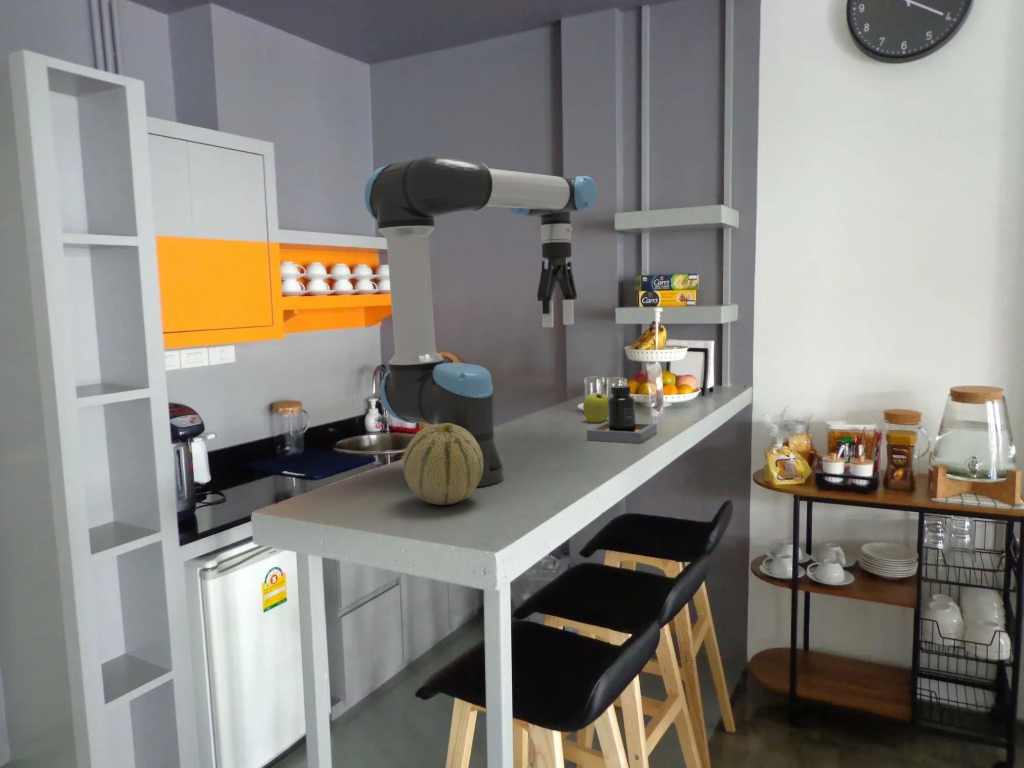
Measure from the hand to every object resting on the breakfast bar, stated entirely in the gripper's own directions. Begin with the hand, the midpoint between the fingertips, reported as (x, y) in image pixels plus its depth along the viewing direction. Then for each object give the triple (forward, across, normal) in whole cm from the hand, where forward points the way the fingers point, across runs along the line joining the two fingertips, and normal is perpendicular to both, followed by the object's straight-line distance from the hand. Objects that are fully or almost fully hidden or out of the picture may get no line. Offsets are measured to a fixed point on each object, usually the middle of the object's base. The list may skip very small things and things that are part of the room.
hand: (558, 325), depth 195 cm
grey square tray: (+29, +3, -16) cm, 33 cm away
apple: (+29, +22, -2) cm, 37 cm away
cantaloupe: (+29, -66, -5) cm, 73 cm away
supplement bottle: (+28, +3, -16) cm, 32 cm away
